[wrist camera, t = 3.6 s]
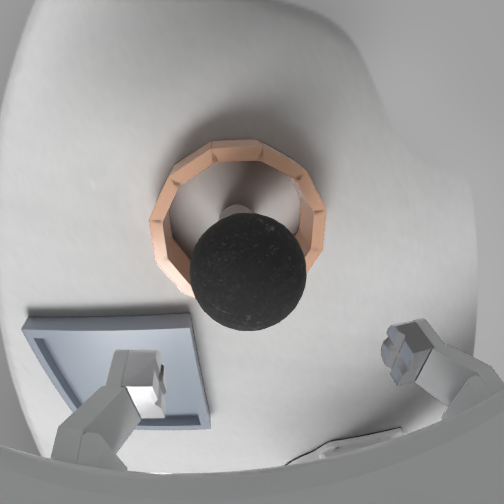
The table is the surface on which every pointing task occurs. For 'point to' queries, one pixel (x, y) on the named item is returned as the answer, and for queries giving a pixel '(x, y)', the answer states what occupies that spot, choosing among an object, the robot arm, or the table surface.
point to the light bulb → (247, 270)
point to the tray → (101, 353)
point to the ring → (232, 151)
